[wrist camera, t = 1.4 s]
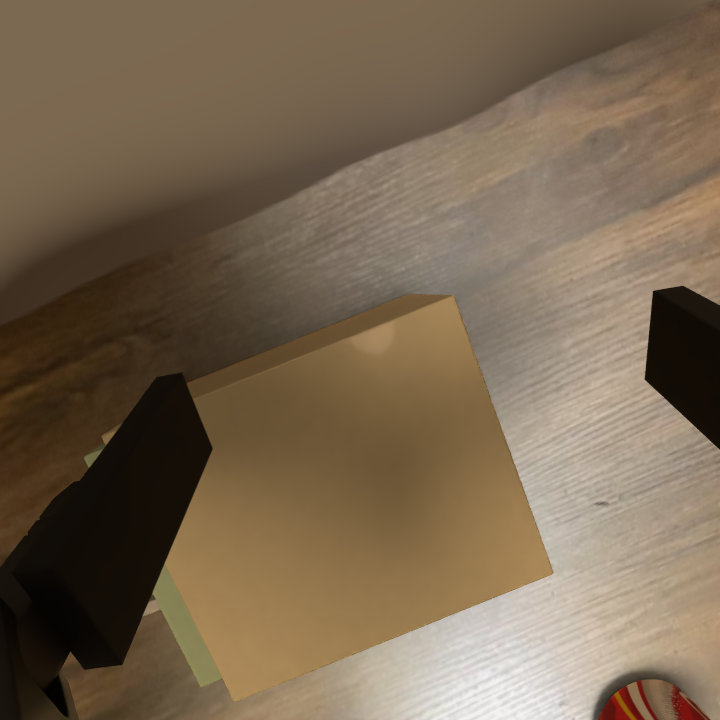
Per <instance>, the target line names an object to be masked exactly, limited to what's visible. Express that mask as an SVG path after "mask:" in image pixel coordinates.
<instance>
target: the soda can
mask: <svg viewBox="0 0 720 720" xmlns="http://www.w3.org/2000/svg"><path fill="white" fill-rule="evenodd" d="M599 720H710V719H709V718H708V716H707V715H706V714H705V713H704V712H703V711H702V710H701V709H700V708H699V707H698V706H697V705H696V704H695V703H694V702H693V701H692V700H691V699H690V698H689V697H688V696H687V695H686V694H684V693H683V692H682V691H681V690H680V689H679V688H678V687H676V686H675V685H673V684H671V683H669V682H666V681H662V680H656V679H648V680H641V681H637V682H634V683H631V684H629V685H627V686H624V687H623V688H621V689H620V690H618V691H617V692H616V693H615V694H614V695H613V696H612V697H611V698H610V699H609V700H608V702H607V703H606V705H605V706H604V708H603V710H602V712H601V715H600V718H599Z"/></svg>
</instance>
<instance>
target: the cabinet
mask: <svg viewBox="0 0 720 720" xmlns="http://www.w3.org/2000/svg"><path fill="white" fill-rule="evenodd" d="M186 384H187V386H188V389H189V391H190V394H191V396H192V398H193V401H194V403H195V406H196V408H197V411H198V413H199V416H200V418H201V421H202V423H203V425H204V428H205V430H206V433H207V435H208V438H209V440H210V443H211V445H212V447H213V450H212V452H211V455H210V457H209V459H208V462H207V464H206V466H205V469H204V471H203V474H202V476H201V478H200V481H199V483H198V485H197V488H196V490H195V493H194V495H193V497H192V500H191V502H190V505H189V507H188V509H187V512H186V514H185V516H184V519H183V521H182V524H181V526H180V528H179V531H178V533H177V535H176V538H175V540H174V543H173V545H172V547H171V550H170V552H169V555H168V557H167V559H166V562H165V565H166V567H167V569H168V571H169V573H170V575H171V577H172V579H173V581H174V583H175V585H176V587H177V589H178V591H179V593H180V595H181V597H182V599H183V601H184V603H185V605H186V607H187V609H188V611H189V613H190V615H191V617H192V619H193V621H194V623H195V625H196V627H197V629H198V631H199V633H200V635H201V637H202V639H203V641H204V643H205V645H206V647H207V649H208V651H209V653H210V655H211V657H212V659H213V661H214V663H215V665H216V667H217V669H218V671H219V673H220V675H221V677H222V679H223V681H224V683H225V685H226V687H227V689H228V691H229V693H230V695H231V697H232V699H233V701H234V702H237V701H239V700H242V699H244V698H246V697H249V696H251V695H254V694H256V693H259V692H261V691H264V690H266V689H269V688H271V687H274V686H276V685H279V684H281V683H284V682H286V681H289V680H291V679H294V678H296V677H299V676H301V675H304V674H306V673H308V672H311V671H313V670H316V669H318V668H321V667H323V666H326V665H328V664H331V663H333V662H336V661H338V660H341V659H343V658H346V657H348V656H351V655H353V654H356V653H358V652H361V651H363V650H366V649H368V648H370V647H373V646H375V645H378V644H380V643H383V642H385V641H388V640H390V639H393V638H395V637H398V636H400V635H403V634H405V633H408V632H410V631H413V630H415V629H418V628H420V627H423V626H425V625H428V624H430V623H432V622H435V621H437V620H440V619H442V618H445V617H447V616H450V615H452V614H455V613H457V612H460V611H462V610H465V609H467V608H470V607H472V606H475V605H477V604H480V603H482V602H485V601H487V600H489V599H492V598H494V597H497V596H499V595H502V594H504V593H507V592H509V591H512V590H514V589H517V588H519V587H522V586H524V585H527V584H529V583H532V582H534V581H537V580H539V579H542V578H544V577H547V576H549V575H551V574H553V569H552V567H551V564H550V561H549V558H548V556H547V553H546V550H545V547H544V544H543V542H542V539H541V536H540V533H539V531H538V528H537V525H536V522H535V520H534V517H533V514H532V511H531V508H530V506H529V503H528V500H527V497H526V495H525V492H524V489H523V486H522V483H521V481H520V478H519V475H518V472H517V470H516V467H515V464H514V461H513V459H512V456H511V453H510V450H509V447H508V445H507V442H506V439H505V436H504V434H503V431H502V428H501V425H500V422H499V420H498V417H497V414H496V411H495V409H494V406H493V403H492V400H491V398H490V395H489V392H488V389H487V386H486V384H485V381H484V378H483V375H482V373H481V370H480V367H479V364H478V361H477V359H476V356H475V353H474V350H473V348H472V345H471V342H470V339H469V336H468V334H467V331H466V328H465V325H464V323H463V320H462V317H461V314H460V312H459V309H458V306H457V303H456V300H455V298H454V296H453V295H425V294H408V295H406V296H403V297H401V298H398V299H396V300H393V301H391V302H388V303H386V304H383V305H381V306H378V307H376V308H373V309H371V310H368V311H366V312H363V313H361V314H358V315H356V316H353V317H351V318H348V319H346V320H343V321H341V322H338V323H336V324H333V325H331V326H328V327H326V328H323V329H321V330H318V331H316V332H313V333H311V334H308V335H306V336H303V337H301V338H298V339H296V340H293V341H291V342H288V343H286V344H283V345H281V346H278V347H276V348H273V349H271V350H268V351H266V352H263V353H261V354H258V355H256V356H253V357H251V358H248V359H246V360H243V361H241V362H238V363H236V364H233V365H231V366H228V367H226V368H223V369H221V370H218V371H216V372H213V373H211V374H208V375H206V376H203V377H201V378H198V379H196V380H193V381H191V382H188V383H186ZM122 423H123V422H122ZM122 423H121V424H122ZM121 424H119V425H118V426H116V427H114V428H113V429H111V430H110V431H108V432H107V433H105V434H103V435H102V439H103V441H104V443H105V445H107V443H108V442H109V441H110V439H111V438H112V437H113V435H114V434H115V433H116V431H117V430H118V429H119V427H120V426H121Z"/></svg>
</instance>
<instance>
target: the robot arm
mask: <svg viewBox="0 0 720 720" xmlns="http://www.w3.org/2000/svg"><path fill="white" fill-rule="evenodd" d="M645 380H646V381H647V382H648V383H649V384H650V385H651V386H652V387H653V388H654V389H655V390H657V391H658V392H659V393H660V394H661V395H662V396H663V397H664V398H665V399H666V400H667V401H668V402H669V403H670V404H672V405H673V406H674V407H675V408H676V409H677V410H678V411H679V412H680V413H681V414H682V415H683V416H684V417H685V418H687V419H688V420H689V421H690V422H691V423H692V424H693V425H694V426H695V427H696V428H697V429H698V430H699V431H700V432H702V433H703V434H704V435H705V436H706V437H707V438H708V439H709V440H710V441H711V442H712V443H713V444H714V445H715V446H717V447H718V448H719V449H720V305H718V304H716V303H714V302H712V301H710V300H709V299H707V298H705V297H703V296H701V295H699V294H697V293H696V292H694V291H692V290H690V289H688V288H686V287H684V286H679V287H673V288H667V289H661V290H656V291H653V298H652V308H651V319H650V329H649V340H648V350H647V361H646V371H645ZM212 450H213V447H212V445H211V443H210V440H209V438H208V435H207V433H206V430H205V428H204V425H203V423H202V421H201V418H200V416H199V413H198V411H197V408H196V406H195V403H194V401H193V398H192V396H191V394H190V391H189V389H188V386H187V384H186V381H185V379H184V376H183V374H182V373H178V374H172V375H166V376H160V377H156V379H155V380H154V381H153V383H152V384H151V385H150V387H149V388H148V389H147V391H146V392H145V394H144V395H143V396H142V398H141V399H140V400H139V402H138V403H137V404H136V406H135V407H134V408H133V410H132V411H131V412H130V414H129V415H128V416H127V418H126V419H125V420H124V422H123V423H122V424H121V426H120V427H119V429H118V430H117V431H116V433H115V434H114V435H113V437H112V438H111V439H110V441H109V442H108V443H107V445H106V446H105V447H104V449H103V450H102V451H101V453H100V454H99V455H98V457H97V458H96V460H95V461H94V462H93V464H92V465H91V466H90V468H89V469H88V470H87V472H86V473H85V474H84V476H83V477H82V478H81V480H80V481H76V482H73V483H72V484H71V485H69V486H68V487H67V488H66V489H65V490H63V491H62V492H61V493H60V494H59V495H57V496H56V497H55V498H54V499H53V500H52V501H51V503H50V504H49V505H48V507H47V508H46V509H45V510H44V512H43V513H42V514H41V516H40V520H37V521H36V522H35V523H34V525H33V526H32V527H31V528H30V530H29V531H28V535H27V536H24V538H23V539H22V540H21V541H20V543H19V544H18V545H17V547H16V548H15V549H14V550H13V552H12V553H11V554H10V556H9V557H8V558H7V559H6V561H5V562H4V563H3V565H2V566H1V567H0V720H79V719H78V715H77V712H76V708H75V705H74V701H73V698H72V694H71V690H70V687H69V683H68V681H67V680H66V678H65V677H64V675H63V674H62V673H61V672H60V670H61V668H62V666H63V664H64V662H65V660H66V659H67V657H68V655H69V653H70V651H71V652H72V654H73V655H74V656H75V658H76V659H77V660H78V662H79V663H80V664H81V666H82V667H83V668H84V670H85V669H93V668H101V667H109V666H117V665H122V664H123V662H124V659H125V657H126V655H127V652H128V650H129V647H130V645H131V643H132V640H133V638H134V635H135V633H136V631H137V628H138V626H139V624H140V621H141V619H142V616H143V614H144V612H145V609H146V607H147V605H148V602H149V600H150V597H151V595H152V593H153V590H154V588H155V585H156V583H157V581H158V578H159V576H160V574H161V571H162V569H163V566H164V564H165V562H166V559H167V557H168V555H169V552H170V550H171V547H172V545H173V543H174V540H175V538H176V535H177V533H178V531H179V528H180V526H181V524H182V521H183V519H184V516H185V514H186V512H187V509H188V507H189V505H190V502H191V500H192V497H193V495H194V493H195V490H196V488H197V485H198V483H199V481H200V478H201V476H202V474H203V471H204V469H205V466H206V464H207V462H208V459H209V457H210V455H211V452H212Z"/></svg>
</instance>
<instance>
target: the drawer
mask: <svg viewBox="0 0 720 720" xmlns="http://www.w3.org/2000/svg"><path fill="white" fill-rule="evenodd" d="M105 446H106V445H105V443H103V444H102V445H100V446H99V447H97V448H96V449H94V450H93V451H91V452H90V453H88V454H87V455H85V456H84V460H85V462H86V464H87V466H88V468H90V466H91V465H92V464H93V462H94V461H95V460H96V458H97V457H98V455H99V454H100V453H101V451H102V450H103V449H104V447H105ZM160 609H161V611H162V613H163V615H164V617H165V619H166V620H167V622H168V624H169V626H170V628H171V630H172V632H173V634H174V636H175V638H176V640H177V642H178V644H179V646H180V648H181V650H182V652H183V654H184V656H185V658H186V660H187V662H188V664H189V666H190V668H191V670H192V671H193V673H194V675H195V677H196V679H197V681H198V683H199V685H200V687H203V686H205V685H208V684H210V683H213V682H215V681H218V680H220V679H222V677H221V675H220V673H219V671H218V669H217V667H216V665H215V663H214V661H213V659H212V657H211V655H210V653H209V651H208V649H207V647H206V645H205V643H204V641H203V639H202V637H201V635H200V633H199V631H198V629H197V627H196V625H195V623H194V621H193V619H192V617H191V615H190V613H189V611H188V609H187V607H186V605H185V603H184V601H183V599H182V597H181V595H180V593H179V591H178V589H177V587H176V585H175V583H174V581H173V579H172V577H171V575H170V573H169V571H168V569H167V567H166V565H165V564H164V566H163V569H162V571H161V574H160V576H159V578H158V581H157V583H156V585H155V588H154V590H153V596H151V597H150V600H149V602H148V605H147V607H146V609H145V612H144V614H143V616H145V615H148V614H150V613H153V612H155V611H158V610H160ZM143 616H142V617H143Z"/></svg>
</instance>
